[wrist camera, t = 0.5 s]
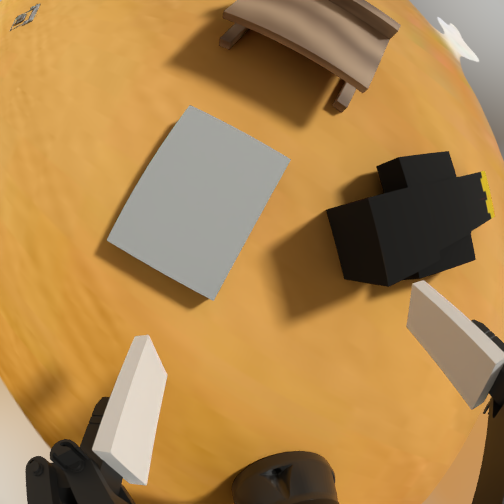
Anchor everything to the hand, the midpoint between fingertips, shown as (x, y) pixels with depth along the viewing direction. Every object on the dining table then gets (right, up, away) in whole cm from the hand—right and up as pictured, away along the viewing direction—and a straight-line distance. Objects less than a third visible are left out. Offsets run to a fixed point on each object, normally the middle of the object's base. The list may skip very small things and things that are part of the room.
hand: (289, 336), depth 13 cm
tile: (-7, +9, +17) cm, 20 cm away
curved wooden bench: (+5, +32, +18) cm, 37 cm away
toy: (+22, +9, +22) cm, 32 cm away
